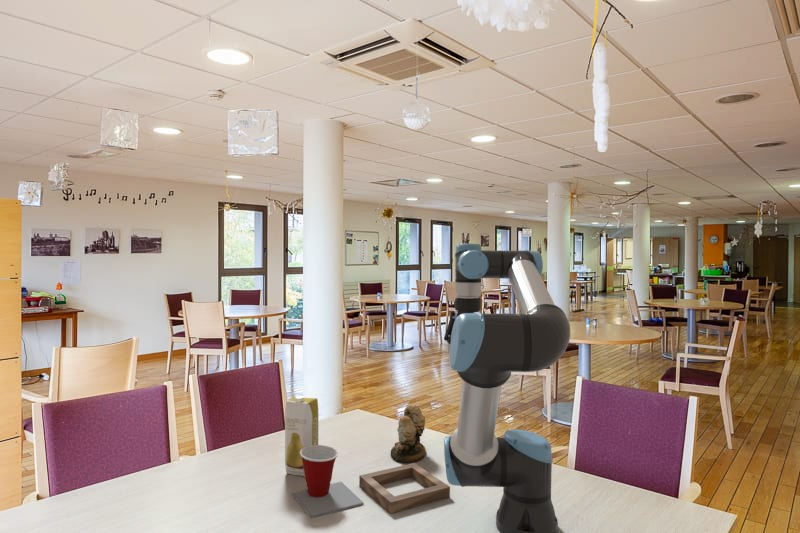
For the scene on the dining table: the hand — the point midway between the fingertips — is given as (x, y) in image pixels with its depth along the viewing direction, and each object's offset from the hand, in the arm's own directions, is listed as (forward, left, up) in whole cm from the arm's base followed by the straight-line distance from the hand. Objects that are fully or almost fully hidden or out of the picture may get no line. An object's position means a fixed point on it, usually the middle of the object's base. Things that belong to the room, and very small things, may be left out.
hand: (467, 370), depth 153 cm
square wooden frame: (+7, +17, -35) cm, 39 cm away
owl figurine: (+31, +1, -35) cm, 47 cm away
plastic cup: (+17, +39, -34) cm, 55 cm away
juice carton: (+34, +38, -35) cm, 62 cm away
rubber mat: (+13, +38, -35) cm, 53 cm away
